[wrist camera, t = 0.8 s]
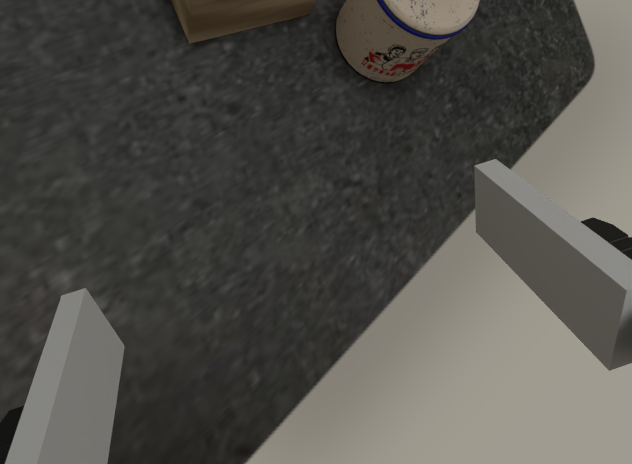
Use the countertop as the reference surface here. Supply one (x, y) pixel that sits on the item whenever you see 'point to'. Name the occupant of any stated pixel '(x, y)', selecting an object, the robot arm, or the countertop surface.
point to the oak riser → (234, 15)
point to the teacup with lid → (397, 33)
